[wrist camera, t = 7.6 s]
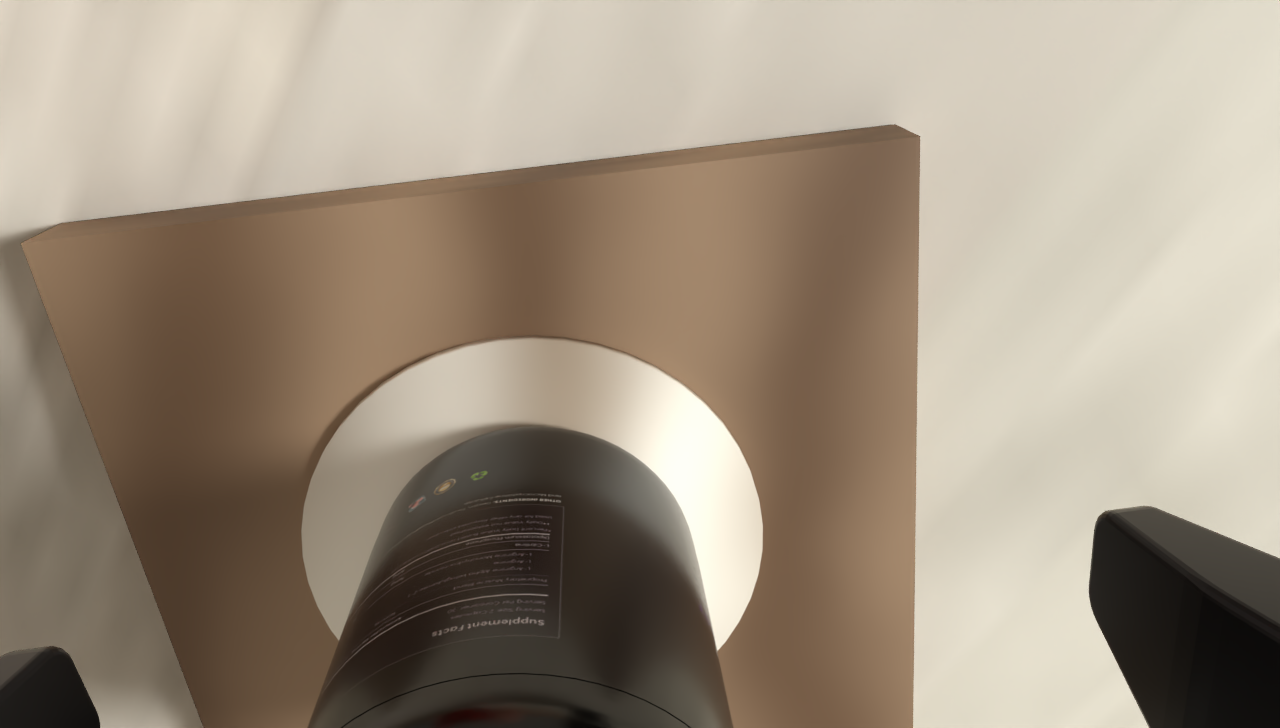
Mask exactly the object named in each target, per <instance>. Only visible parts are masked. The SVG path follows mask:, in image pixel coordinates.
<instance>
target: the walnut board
mask: <svg viewBox="0 0 1280 728" xmlns="http://www.w3.org/2000/svg"><path fill="white" fill-rule="evenodd" d="M919 177H920V136H918V135H916V134H914V133H912V132H910V131H908V130H906V129H904V128H901V127H899V126H897V125H887V126H878V127H870V128H861V129H853V130H844V131H836V132H828V133H819V134H811V135H802V136H794V137H785V138H777V139H768V140H760V141H752V142H743V143H735V144H726V145H718V146H709V147H701V148H693V149H684V150H676V151H667V152H659V153H650V154H642V155H633V156H625V157H617V158H608V159H600V160H591V161H583V162H574V163H566V164H558V165H549V166H541V167H532V168H524V169H515V170H507V171H498V172H490V173H482V174H473V175H465V176H456V177H448V178H439V179H431V180H423V181H414V182H406V183H397V184H389V185H380V186H372V187H363V188H355V189H347V190H338V191H330V192H321V193H313V194H304V195H296V196H288V197H279V198H271V199H262V200H254V201H245V202H237V203H228V204H220V205H212V206H203V207H195V208H186V209H178V210H169V211H161V212H153V213H144V214H136V215H127V216H119V217H110V218H102V219H94V220H85V221H77V222H68V223H61V224H59V225H57V226H55V227H53V228H51V229H49V230H47V231H45V232H43V233H40V234H38V235H36V236H34V237H32V238H30V239H28V240H26V241H24V242H22V243H21V246H22V249H23V251H24V254H25V256H26V259H27V262H28V264H29V267H30V270H31V272H32V275H33V278H34V280H35V283H36V286H37V288H38V291H39V293H40V296H41V299H42V301H43V304H44V307H45V309H46V312H47V315H48V317H49V320H50V323H51V325H52V328H53V330H54V333H55V336H56V338H57V341H58V344H59V346H60V349H61V352H62V354H63V357H64V360H65V362H66V365H67V367H68V370H69V373H70V375H71V378H72V381H73V383H74V386H75V389H76V391H77V394H78V397H79V399H80V402H81V405H82V407H83V410H84V412H85V415H86V418H87V420H88V423H89V426H90V428H91V431H92V434H93V436H94V439H95V442H96V444H97V447H98V449H99V452H100V455H101V457H102V460H103V463H104V465H105V468H106V471H107V473H108V476H109V479H110V481H111V484H112V486H113V489H114V492H115V494H116V497H117V500H118V502H119V505H120V508H121V510H122V513H123V516H124V518H125V521H126V523H127V526H128V529H129V531H130V534H131V537H132V539H133V542H134V545H135V547H136V550H137V553H138V555H139V558H140V561H141V563H142V566H143V568H144V571H145V574H146V576H147V579H148V582H149V584H150V587H151V590H152V592H153V595H154V598H155V600H156V603H157V605H158V608H159V611H160V613H161V616H162V619H163V621H164V624H165V627H166V629H167V632H168V635H169V637H170V640H171V642H172V645H173V648H174V650H175V653H176V656H177V658H178V661H179V664H180V666H181V669H182V672H183V674H184V677H185V679H186V682H187V685H188V687H189V690H190V693H191V695H192V698H193V701H194V703H195V706H196V709H197V711H198V714H199V717H200V719H201V722H202V724H203V727H204V728H307V727H308V724H309V721H310V719H311V716H312V713H313V710H314V708H315V705H316V702H317V700H318V697H319V694H320V691H321V689H322V686H323V683H324V680H325V678H326V675H327V672H328V669H329V667H330V664H331V661H332V659H333V656H334V653H335V650H336V648H337V645H338V642H339V639H340V637H341V634H342V631H343V628H344V626H345V623H346V620H347V618H348V615H349V612H350V609H351V607H352V604H353V601H354V598H355V596H356V593H357V590H358V587H359V585H360V582H361V579H362V576H363V574H364V571H365V568H366V566H367V563H368V560H369V557H370V555H371V552H372V549H373V547H374V544H375V542H376V539H377V537H378V535H379V532H380V530H381V527H382V525H383V522H384V520H385V518H386V516H387V514H388V512H389V510H390V508H391V506H392V504H393V503H394V501H395V499H396V498H397V496H398V495H399V493H400V492H401V490H402V489H403V488H404V487H405V485H406V484H407V483H408V482H409V481H410V480H411V478H412V477H413V476H414V475H415V474H416V473H418V472H419V471H420V470H421V469H422V468H423V467H424V466H425V465H427V464H428V463H429V462H431V461H432V460H433V459H434V458H436V457H437V456H438V455H440V454H442V453H443V452H445V451H446V450H448V449H450V448H452V447H454V446H456V445H458V444H460V443H462V442H464V441H466V440H469V439H471V438H474V437H476V436H479V435H482V434H486V433H489V432H493V431H497V430H503V429H508V428H516V427H529V426H544V427H557V428H564V429H570V430H575V431H579V432H583V433H586V434H590V435H593V436H596V437H598V438H601V439H604V440H606V441H608V442H610V443H613V444H615V445H617V446H619V447H621V448H622V449H624V450H626V451H627V452H629V453H631V454H632V455H634V456H635V457H636V458H638V459H639V460H640V461H642V462H643V463H644V464H645V465H647V466H648V467H649V468H650V469H651V470H652V471H653V472H654V473H655V474H656V475H657V476H658V477H659V478H660V479H661V480H662V481H663V482H664V484H665V485H666V486H667V487H668V489H669V490H670V491H671V493H672V494H673V495H674V497H675V499H676V500H677V502H678V504H679V506H680V507H681V509H682V511H683V514H684V516H685V518H686V521H687V523H688V526H689V529H690V532H691V535H692V539H693V543H694V547H695V551H696V555H697V559H698V563H699V567H700V572H701V577H702V581H703V586H704V591H705V595H706V600H707V605H708V610H709V614H710V619H711V624H712V628H713V633H714V638H715V643H716V647H717V652H718V657H719V662H720V666H721V671H722V676H723V680H724V685H725V690H726V695H727V699H728V704H729V709H730V713H731V718H732V723H733V728H913V677H914V593H915V510H916V427H917V343H918V260H919Z"/></svg>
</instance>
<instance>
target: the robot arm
mask: <svg viewBox="0 0 1280 728" xmlns="http://www.w3.org/2000/svg"><path fill="white" fill-rule="evenodd" d="M1089 598H1090V603H1091V607H1092V611H1093V614H1094V616H1095V618H1096V621H1097V623H1098V625H1099V627H1100V629H1101V631H1102V633H1103V635H1104V637H1105V639H1106V641H1107V643H1108V645H1109V647H1110V649H1111V651H1112V653H1113V655H1114V657H1115V659H1116V661H1117V663H1118V665H1119V667H1120V669H1121V671H1122V673H1123V676H1124V678H1125V680H1126V682H1127V684H1128V686H1129V688H1130V690H1131V692H1132V694H1133V696H1134V698H1135V700H1136V702H1137V704H1138V706H1139V708H1140V710H1141V712H1142V714H1143V716H1144V718H1145V720H1146V722H1147V724H1148V726H1149V728H1280V558H1277V557H1275V556H1272V555H1270V554H1268V553H1265V552H1263V551H1260V550H1258V549H1255V548H1253V547H1250V546H1248V545H1245V544H1243V543H1241V542H1238V541H1236V540H1233V539H1231V538H1228V537H1226V536H1223V535H1221V534H1218V533H1216V532H1214V531H1211V530H1209V529H1206V528H1204V527H1201V526H1199V525H1196V524H1194V523H1191V522H1189V521H1187V520H1184V519H1182V518H1179V517H1177V516H1174V515H1172V514H1169V513H1167V512H1164V511H1162V510H1160V509H1157V508H1154V507H1151V506H1139V507H1131V508H1123V509H1116V510H1108V511H1105V512H1104V513H1102V514H1101V515H1100V516H1099V517H1098V519H1097V521H1096V524H1095V529H1094V538H1093V549H1092V559H1091V570H1090V580H1089ZM0 728H100V722H99V716H98V714H97V711H96V709H95V707H94V705H93V703H92V701H91V698H90V696H89V694H88V692H87V690H86V688H85V686H84V684H83V682H82V680H81V677H80V675H79V673H78V671H77V669H76V667H75V665H74V663H73V661H72V659H71V657H70V656H69V654H68V653H67V652H65V651H64V650H63V649H61V648H58V647H54V646H50V647H42V648H34V649H26V650H18V651H13V652H10V653H7V654H5V655H3V656H1V657H0Z"/></svg>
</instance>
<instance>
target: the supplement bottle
mask: <svg viewBox="0 0 1280 728" xmlns="http://www.w3.org/2000/svg"><path fill="white" fill-rule="evenodd" d="M307 728H733V723H732V718H731V713H730V709H729V704H728V699H727V695H726V690H725V685H724V680H723V676H722V671H721V666H720V662H719V657H718V652H717V647H716V643H715V638H714V633H713V628H712V624H711V619H710V614H709V610H708V605H707V600H706V595H705V591H704V586H703V581H702V577H701V572H700V567H699V563H698V559H697V555H696V551H695V547H694V543H693V539H692V535H691V532H690V529H689V526H688V523H687V521H686V518H685V516H684V514H683V511H682V509H681V507H680V506H679V504H678V502H677V500H676V499H675V497H674V495H673V494H672V493H671V491H670V490H669V489H668V487H667V486H666V485H665V484H664V482H663V481H662V480H661V479H660V478H659V477H658V476H657V475H656V474H655V473H654V472H653V471H652V470H651V469H650V468H649V467H648V466H647V465H645V464H644V463H643V462H642V461H640V460H639V459H638V458H636V457H635V456H634V455H632V454H631V453H629V452H627V451H626V450H624V449H622V448H621V447H619V446H617V445H615V444H613V443H610V442H608V441H606V440H604V439H601V438H598V437H596V436H593V435H590V434H586V433H583V432H579V431H575V430H570V429H564V428H557V427H544V426H529V427H516V428H508V429H503V430H497V431H493V432H489V433H486V434H482V435H479V436H476V437H474V438H471V439H469V440H466V441H464V442H462V443H460V444H458V445H456V446H454V447H452V448H450V449H448V450H446V451H445V452H443V453H442V454H440V455H438V456H437V457H436V458H434V459H433V460H432V461H431V462H429V463H428V464H427V465H425V466H424V467H423V468H422V469H421V470H420V471H419V472H418V473H416V474H415V475H414V476H413V477H412V478H411V480H410V481H409V482H408V483H407V484H406V485H405V487H404V488H403V489H402V490H401V492H400V493H399V495H398V496H397V498H396V499H395V501H394V503H393V504H392V506H391V508H390V510H389V512H388V514H387V516H386V518H385V520H384V522H383V525H382V527H381V530H380V532H379V535H378V537H377V539H376V542H375V544H374V547H373V549H372V552H371V555H370V557H369V560H368V563H367V566H366V568H365V571H364V574H363V576H362V579H361V582H360V585H359V587H358V590H357V593H356V596H355V598H354V601H353V604H352V607H351V609H350V612H349V615H348V618H347V620H346V623H345V626H344V628H343V631H342V634H341V637H340V639H339V642H338V645H337V648H336V650H335V653H334V656H333V659H332V661H331V664H330V667H329V669H328V672H327V675H326V678H325V680H324V683H323V686H322V689H321V691H320V694H319V697H318V700H317V702H316V705H315V708H314V710H313V713H312V716H311V719H310V721H309V724H308V727H307Z"/></svg>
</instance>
